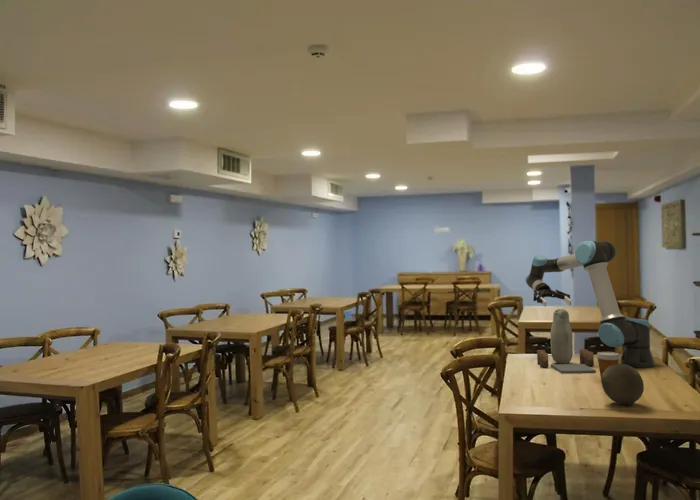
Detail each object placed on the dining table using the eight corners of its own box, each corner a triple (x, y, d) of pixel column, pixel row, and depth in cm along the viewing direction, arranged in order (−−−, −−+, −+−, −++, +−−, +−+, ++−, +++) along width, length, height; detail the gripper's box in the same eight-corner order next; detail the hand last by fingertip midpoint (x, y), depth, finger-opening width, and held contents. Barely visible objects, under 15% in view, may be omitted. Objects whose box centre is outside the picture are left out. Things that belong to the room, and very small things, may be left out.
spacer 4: (595, 366, 285) (594, 351, 285) (591, 367, 283) (590, 353, 283) (587, 365, 288) (587, 351, 288) (583, 366, 286) (583, 352, 286)
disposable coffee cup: (623, 383, 248) (622, 355, 248) (599, 382, 250) (598, 355, 250) (617, 378, 257) (616, 351, 257) (594, 378, 259) (594, 351, 259)
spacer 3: (589, 363, 292) (589, 349, 292) (585, 364, 290) (585, 350, 290) (582, 362, 295) (581, 348, 295) (578, 363, 293) (578, 349, 293)
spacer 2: (550, 367, 285) (549, 353, 285) (545, 368, 283) (545, 354, 283) (542, 366, 288) (542, 352, 288) (538, 367, 286) (538, 353, 286)
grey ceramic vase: (547, 363, 295) (545, 309, 295) (562, 361, 300) (560, 307, 300) (562, 366, 286) (560, 310, 287) (577, 364, 291) (575, 309, 291)
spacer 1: (547, 364, 293) (546, 350, 293) (543, 365, 290) (542, 351, 290) (540, 363, 296) (539, 349, 296) (535, 364, 293) (535, 350, 294)
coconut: (608, 398, 224) (607, 359, 224) (648, 403, 215) (646, 363, 215) (597, 406, 213) (596, 365, 213) (638, 411, 204) (637, 369, 204)
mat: (583, 366, 286) (583, 363, 286) (595, 372, 270) (595, 370, 270) (550, 366, 286) (550, 364, 286) (561, 373, 270) (561, 371, 270)
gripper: (562, 294, 324) (580, 309, 304) (519, 295, 322) (534, 311, 302) (563, 281, 321) (581, 296, 301) (520, 283, 319) (535, 298, 299)
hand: (558, 303), depth 301 cm, fingers open, 13 cm apart
